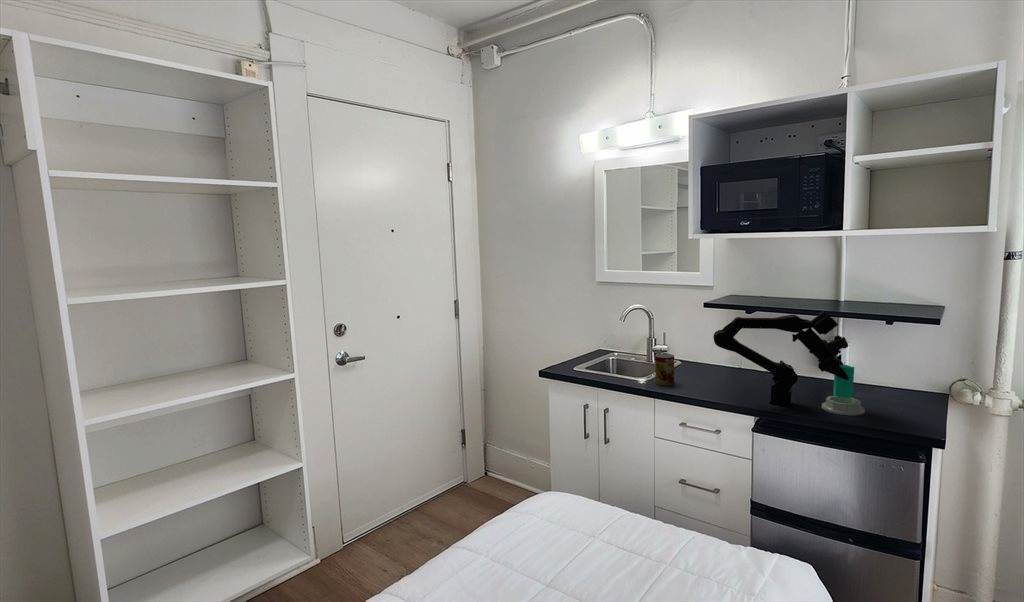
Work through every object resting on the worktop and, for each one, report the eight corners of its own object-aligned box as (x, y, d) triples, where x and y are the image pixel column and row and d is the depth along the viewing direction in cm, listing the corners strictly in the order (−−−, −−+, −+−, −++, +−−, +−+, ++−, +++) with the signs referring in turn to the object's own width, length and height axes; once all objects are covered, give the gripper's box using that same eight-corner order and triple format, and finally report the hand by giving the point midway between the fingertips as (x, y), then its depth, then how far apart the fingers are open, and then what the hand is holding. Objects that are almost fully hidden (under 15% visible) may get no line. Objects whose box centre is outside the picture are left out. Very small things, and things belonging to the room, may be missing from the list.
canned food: (671, 386, 227) (671, 358, 225) (652, 383, 231) (652, 356, 229) (676, 381, 233) (676, 354, 232) (658, 379, 237) (658, 352, 236)
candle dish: (817, 410, 190) (817, 401, 190) (826, 401, 200) (827, 392, 199) (860, 418, 181) (861, 408, 181) (868, 408, 191) (868, 398, 191)
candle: (855, 398, 186) (857, 364, 185) (835, 397, 188) (837, 363, 187) (849, 393, 192) (851, 360, 191) (830, 392, 194) (832, 359, 192)
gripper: (831, 333, 182) (868, 369, 177) (835, 325, 197) (869, 358, 192) (803, 353, 187) (839, 389, 182) (809, 344, 203) (842, 376, 198)
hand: (848, 377), depth 189 cm, fingers closed on candle, 5 cm apart
